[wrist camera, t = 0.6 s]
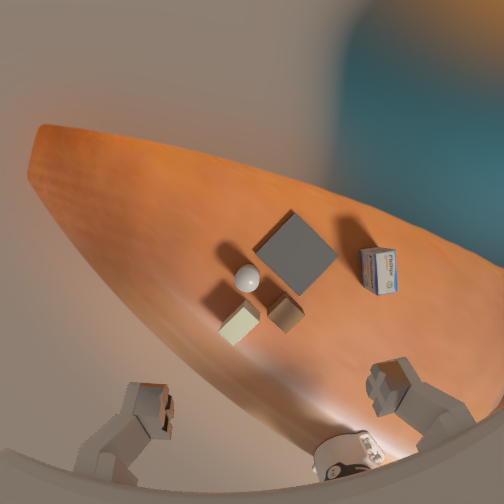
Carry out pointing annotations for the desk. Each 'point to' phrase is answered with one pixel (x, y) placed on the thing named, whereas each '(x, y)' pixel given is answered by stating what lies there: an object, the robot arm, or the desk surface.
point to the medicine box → (379, 270)
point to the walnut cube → (285, 312)
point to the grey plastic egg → (247, 278)
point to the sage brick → (239, 322)
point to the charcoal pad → (297, 254)
